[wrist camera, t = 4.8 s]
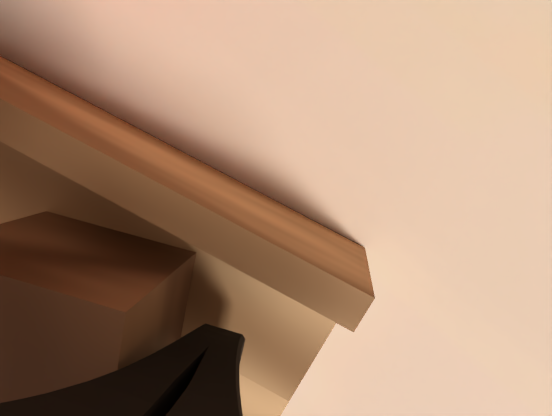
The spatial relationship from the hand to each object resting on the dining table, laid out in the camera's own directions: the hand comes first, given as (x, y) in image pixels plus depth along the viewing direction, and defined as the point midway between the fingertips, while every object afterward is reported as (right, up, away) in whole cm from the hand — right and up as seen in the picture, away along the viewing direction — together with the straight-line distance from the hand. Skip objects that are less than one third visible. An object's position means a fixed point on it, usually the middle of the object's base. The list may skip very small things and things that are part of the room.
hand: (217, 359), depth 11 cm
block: (-4, +1, +1) cm, 4 cm away
